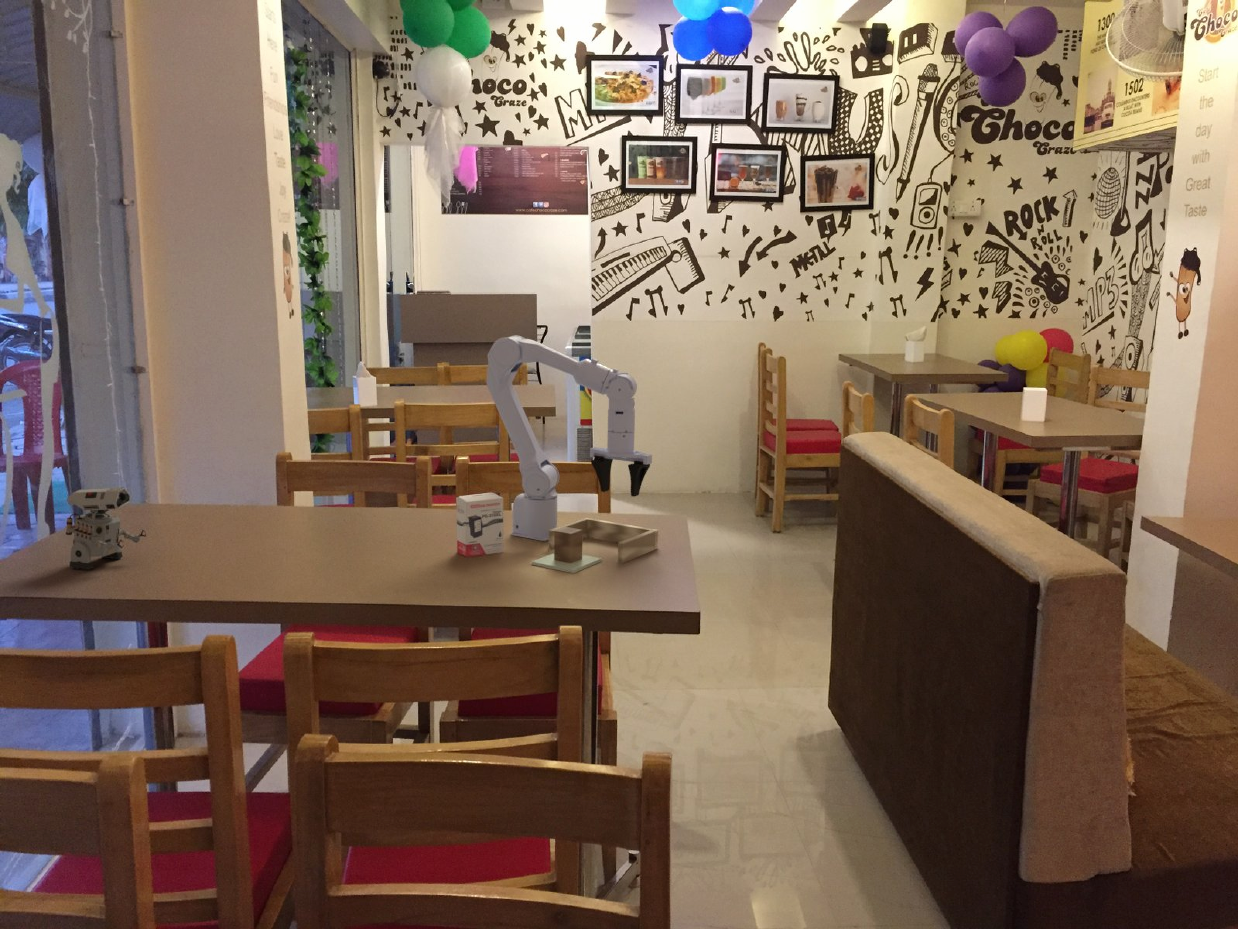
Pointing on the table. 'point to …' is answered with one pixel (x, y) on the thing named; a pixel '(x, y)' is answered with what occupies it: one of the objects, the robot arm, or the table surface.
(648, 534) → the corral
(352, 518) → the table surface
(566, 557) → the walnut block
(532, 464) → the robot arm
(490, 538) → the ink box
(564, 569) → the pad
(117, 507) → the figurine
